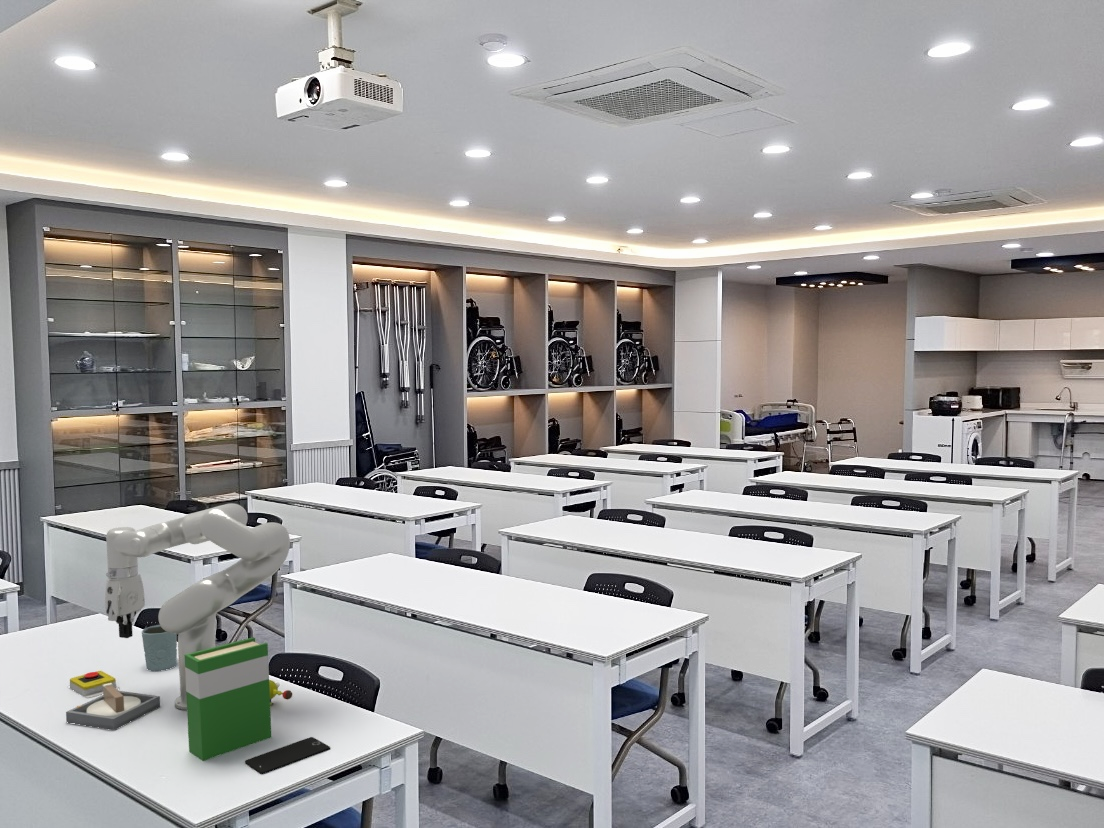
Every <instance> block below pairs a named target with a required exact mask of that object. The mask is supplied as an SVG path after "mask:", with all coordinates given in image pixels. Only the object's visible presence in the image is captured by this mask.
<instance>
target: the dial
mask: <svg viewBox="0 0 1104 828" xmlns="http://www.w3.org/2000/svg"><path fill="white" fill-rule="evenodd" d="M119 691H120V690H117V689H116V688H115V687H114V686H113V685H112V683H108V684H104V685H103V695H104V700H101V701H98V702H96V703H94V704H92V705H90V706H89V707H88V708H87V713H89V714H96V715H103V716H110V717H115V716H117V715H119V714H121V713H123V712H125V711H127V710H129V709H131V708H133V707H135V706H137V705H139V704H141V701H140V699H139V698H137V697H133V696H123V695H122V694H121V693H120V692H119Z"/></svg>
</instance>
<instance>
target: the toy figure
mask: <svg viewBox="0 0 1104 828" xmlns="http://www.w3.org/2000/svg"><path fill="white" fill-rule="evenodd" d="M280 685H281V684H280V683H279V682H275V681H274V680H271V679H269V688H270V707H271V706H273V705H274V704H275V703H274V702H272V699H274V698H275V697H276V696H281V695H282V698H283V699H284V700H290V699H292V698H293V692H292V691H291V690H289V689H287V690H283V692H282V690H279V689H278V688H279V687H280Z"/></svg>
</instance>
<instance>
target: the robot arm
mask: <svg viewBox="0 0 1104 828" xmlns="http://www.w3.org/2000/svg"><path fill="white" fill-rule="evenodd" d="M247 523H248V513H247V511H246V509H245V508H244V507H243V506H242V505H240V504H238V503H226V504H222V505H218V506H214V507H210V508H206V509H204V510H200V511H196V512H192V513H188V514H186V515H184V516H182V517H179V518H175V519H171V520H168V521H167V520H166V521H163V522H159V523H156V524H153V525H150V526H147V527H143V528H140V529H137V530H136V529H135V528H133V527H129V526H121V527H114V528H111V529H109V530H108V531H107V532H106V535H105V537H106V540H105V541H106V558H107V559H106V561H107V572H106V574H105V575H106V577H107V580H106V585H105V595H104V597H105V599H104V601H105V603H104V606H105V613H106V615H108V617H107V621H109V622H116V624H118V635H119V638H123V639H129V638H132V637H133V635H134V634H133V622H134V621H135V616H136V615H137V614H138V613H140V612H142V609H144V607H145V605H146V604H145V603H146V601H145V591H144V583H143V580H142V577H141V574H140V573H139V567H138V558H145V557H148V556H150V555H153V554H155V553H158V552H161V551H164V550H167V549H170V548H174V547H177V546H178V547H179V546H181V545H184V544H185V545H186V544H191V545H199V544H203V543H206V542H211V543H212V544H214V545H216V546H218V547H220V548H221V549H223V550H225V551H227V552H229V553H231V554H232V555H234V556H235V557H238V558H240V559H239V560H238V561H237V562H235V563H234V564H231V565H230V566H228V567H227V568H225V569H223V570H221V571H218V572H214V573H213V574H210V575H208V576H207V577H204V578H203V579H200V580H199V581H196V582H195V583H193V584H192V585H190V586H189V587H187V588H186V589H184V590H182V591H181V592H179V593H178V594H176V595H174V596H173V597H171V598H169V599H168V600H167V601H165V602H164V603H163V604H162V605H161V607H160V609H159V611H158V617H157V618H158V625H160V626H161V627H162V628H163V629H164V630H165V631H167V632H169V633H172V634H177V635H178V636H177V651H178V652H177V655H178V670H179V671H178V673H179V691H180V692H179V695H180V696H178V697H176V698H175V700H174V707H175V708H176V709H178V710H181V711H182V710H184V711H187V697H186V676H185V656H184V655H186V654H190V653H193V652H197V651H201V650H205V649H209V648H213V647H216V637H215V636H216V634H215V633H216V617H217V613H218V612H220V611H222V610H224V609H226V608H227V607H229V606H231V605H232V604H233V603H235V602H236V601H237V600H238V599H240V598H241V597H243V596H244V595H246V594H247V593H249V592H251V591H252V590H254V589H256V587H258V586H259V585H261V584H263V582H265V581H267V580H268V579H269V578H271V577H272V576H274V574H276V572H278V571H279V569H280V568H281V567H282V566H283V564H284V563H285V562H286V560H287V557H288V556H289V551H290V548H291V547H290V546H291V540H290V539H291V537H290V534H289V531H288V529H287V528H286V527H285V526H284V525H283V524H282V523H280V522H279V523H278V522H265V523H262V524H259V525H256V526H255V527H250V526H247Z"/></svg>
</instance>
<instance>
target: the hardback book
mask: <svg viewBox="0 0 1104 828" xmlns="http://www.w3.org/2000/svg"><path fill="white" fill-rule="evenodd" d="M184 656H185V676H186V697H187V710H186V712H187V713H186V714H187V715H186V716H187V731H188V732H187V733H188V752H189V753H191V755H193V756H195V757H196V758H197V759H198V760H200V761H202V762H204V761H207V760H211V759H214V758H216V757H219V756H221V755H224V754H228V753H230V752H234V751H235V750H236V751H237V750H239V749H242V748H245V747H248V746H251V745H253V744H257V743H259V742H262V741H265V740H269V739H272V716H271V715H272V714H271V711H272V710H271V706H270V688H269V680H270V670H269V669H270V668H269V645H268V643H267V642H263V643H258V642H256V637H253V636H252V637H249V638H246V639H243V640H242V639H241V640H238V641H234V642H233V641H232V642H230V643H226V644H221V645H217V646H215V647H213V648H209V649H205V650H201V651H197V652H193V653H190V654H186V655H184Z"/></svg>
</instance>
